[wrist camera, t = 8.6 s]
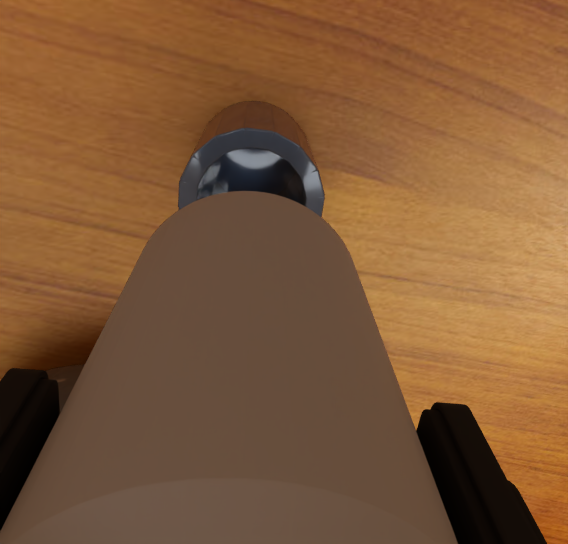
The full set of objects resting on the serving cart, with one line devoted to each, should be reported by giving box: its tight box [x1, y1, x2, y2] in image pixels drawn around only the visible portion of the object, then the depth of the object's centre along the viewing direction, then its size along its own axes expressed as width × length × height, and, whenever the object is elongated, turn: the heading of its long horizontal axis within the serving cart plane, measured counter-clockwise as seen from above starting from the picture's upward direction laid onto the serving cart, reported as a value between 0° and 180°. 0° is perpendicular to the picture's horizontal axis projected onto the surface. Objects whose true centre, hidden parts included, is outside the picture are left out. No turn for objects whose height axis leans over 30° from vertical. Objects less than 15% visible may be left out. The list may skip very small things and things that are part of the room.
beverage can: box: [0, 191, 458, 544], centre depth 11 cm, size 6×6×12 cm
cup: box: [178, 101, 325, 217], centre depth 27 cm, size 6×6×8 cm
